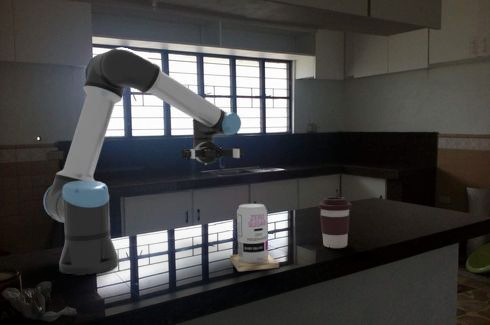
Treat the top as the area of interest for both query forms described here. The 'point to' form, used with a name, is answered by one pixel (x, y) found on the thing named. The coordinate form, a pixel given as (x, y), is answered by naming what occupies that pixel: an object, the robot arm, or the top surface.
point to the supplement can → (252, 233)
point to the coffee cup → (335, 221)
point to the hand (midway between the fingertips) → (216, 153)
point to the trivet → (253, 264)
